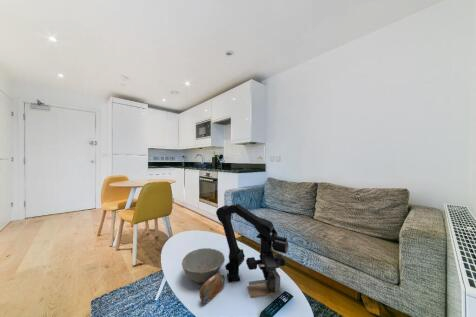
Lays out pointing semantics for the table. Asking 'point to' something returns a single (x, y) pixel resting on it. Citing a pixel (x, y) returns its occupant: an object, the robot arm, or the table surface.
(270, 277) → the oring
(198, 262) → the ceramic bowl
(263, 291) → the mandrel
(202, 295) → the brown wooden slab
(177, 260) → the table surface
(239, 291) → the table surface
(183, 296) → the table surface
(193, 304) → the table surface
